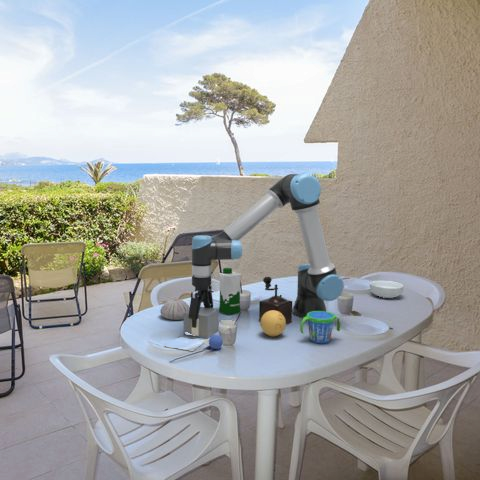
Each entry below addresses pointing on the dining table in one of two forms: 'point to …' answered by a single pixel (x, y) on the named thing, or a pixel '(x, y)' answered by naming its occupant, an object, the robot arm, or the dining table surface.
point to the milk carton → (229, 292)
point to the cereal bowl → (386, 288)
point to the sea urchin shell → (174, 309)
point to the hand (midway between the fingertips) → (201, 330)
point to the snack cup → (320, 325)
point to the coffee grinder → (275, 303)
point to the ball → (215, 341)
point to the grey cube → (203, 322)
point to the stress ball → (273, 323)
